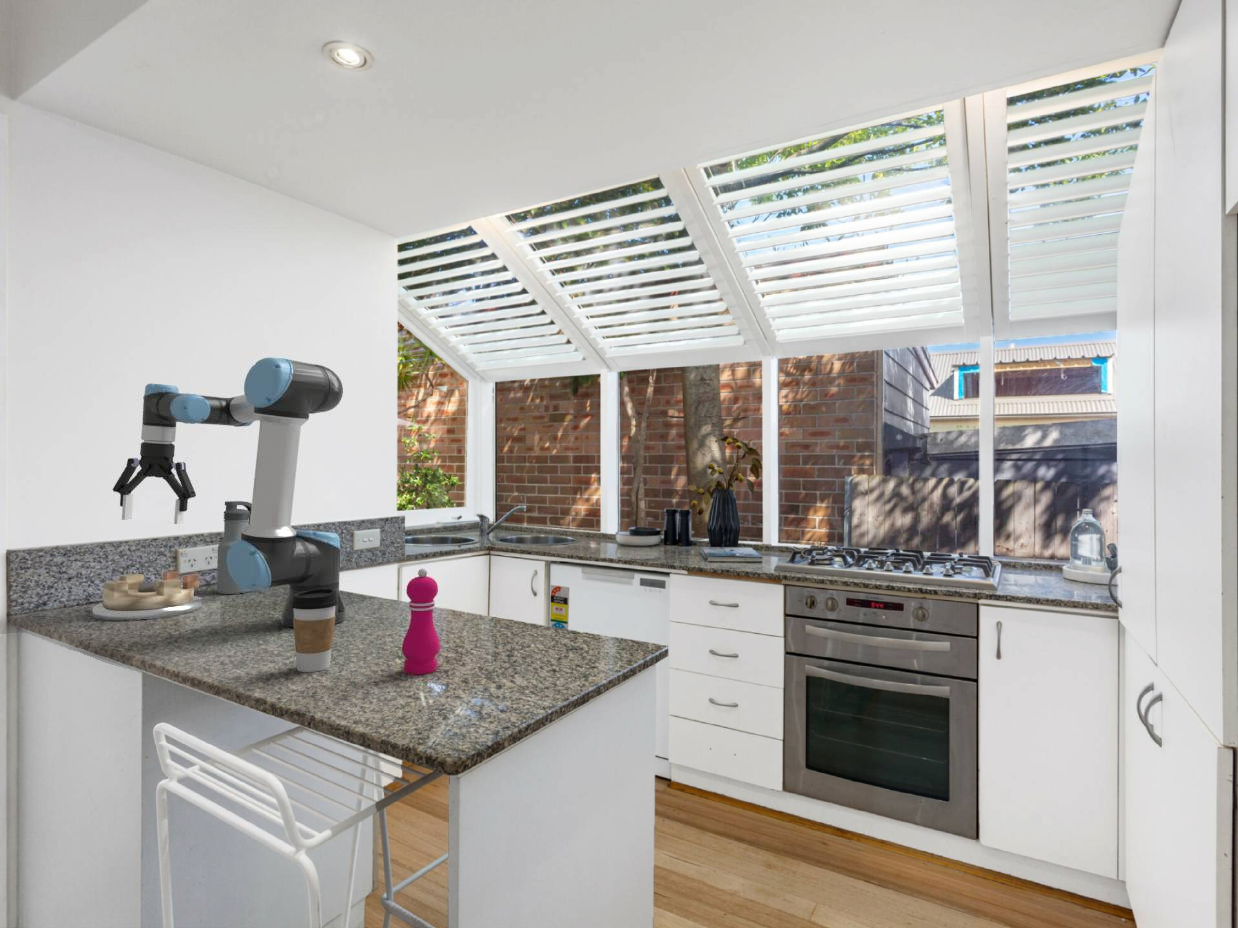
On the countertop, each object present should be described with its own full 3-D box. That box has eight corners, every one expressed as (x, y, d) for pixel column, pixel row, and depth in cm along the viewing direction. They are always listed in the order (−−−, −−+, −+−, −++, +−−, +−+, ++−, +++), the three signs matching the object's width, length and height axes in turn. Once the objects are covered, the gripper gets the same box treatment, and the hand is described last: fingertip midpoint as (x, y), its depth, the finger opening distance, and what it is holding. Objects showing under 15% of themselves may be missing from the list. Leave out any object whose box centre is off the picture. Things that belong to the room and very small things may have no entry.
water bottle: (245, 587, 217) (246, 500, 217) (260, 591, 211) (262, 501, 211) (210, 592, 209) (212, 501, 209) (225, 596, 203) (227, 502, 203)
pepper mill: (419, 677, 129) (421, 572, 129) (393, 671, 133) (395, 568, 133) (447, 668, 135) (449, 567, 135) (422, 662, 139) (424, 564, 139)
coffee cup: (345, 666, 135) (347, 590, 135) (306, 676, 128) (308, 597, 128) (319, 659, 140) (321, 586, 140) (280, 669, 133) (282, 592, 133)
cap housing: (212, 611, 182) (212, 598, 182) (100, 625, 165) (100, 610, 165) (189, 598, 199) (190, 586, 199) (86, 609, 182) (86, 596, 182)
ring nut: (131, 612, 168) (132, 586, 169) (85, 604, 177) (86, 579, 177) (209, 599, 187) (210, 575, 187) (164, 592, 195) (165, 569, 195)
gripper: (213, 446, 185) (208, 523, 186) (120, 438, 184) (114, 515, 185) (197, 446, 178) (191, 527, 178) (100, 438, 177) (94, 518, 177)
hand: (152, 521), depth 181 cm, fingers open, 13 cm apart
